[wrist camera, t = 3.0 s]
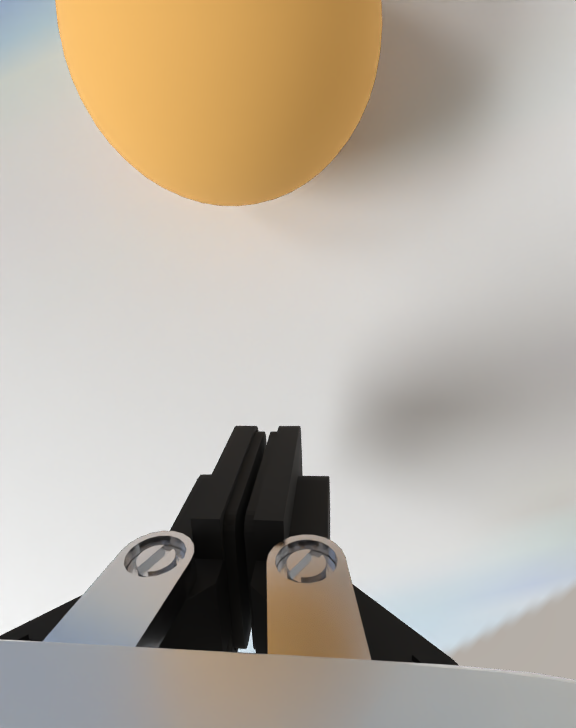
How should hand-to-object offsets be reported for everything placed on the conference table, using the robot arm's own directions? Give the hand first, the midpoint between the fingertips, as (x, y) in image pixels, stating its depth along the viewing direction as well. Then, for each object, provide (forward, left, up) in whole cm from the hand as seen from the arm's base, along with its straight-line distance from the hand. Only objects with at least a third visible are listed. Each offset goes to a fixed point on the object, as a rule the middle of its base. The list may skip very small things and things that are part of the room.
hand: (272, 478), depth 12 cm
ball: (0, +10, 0) cm, 10 cm away
